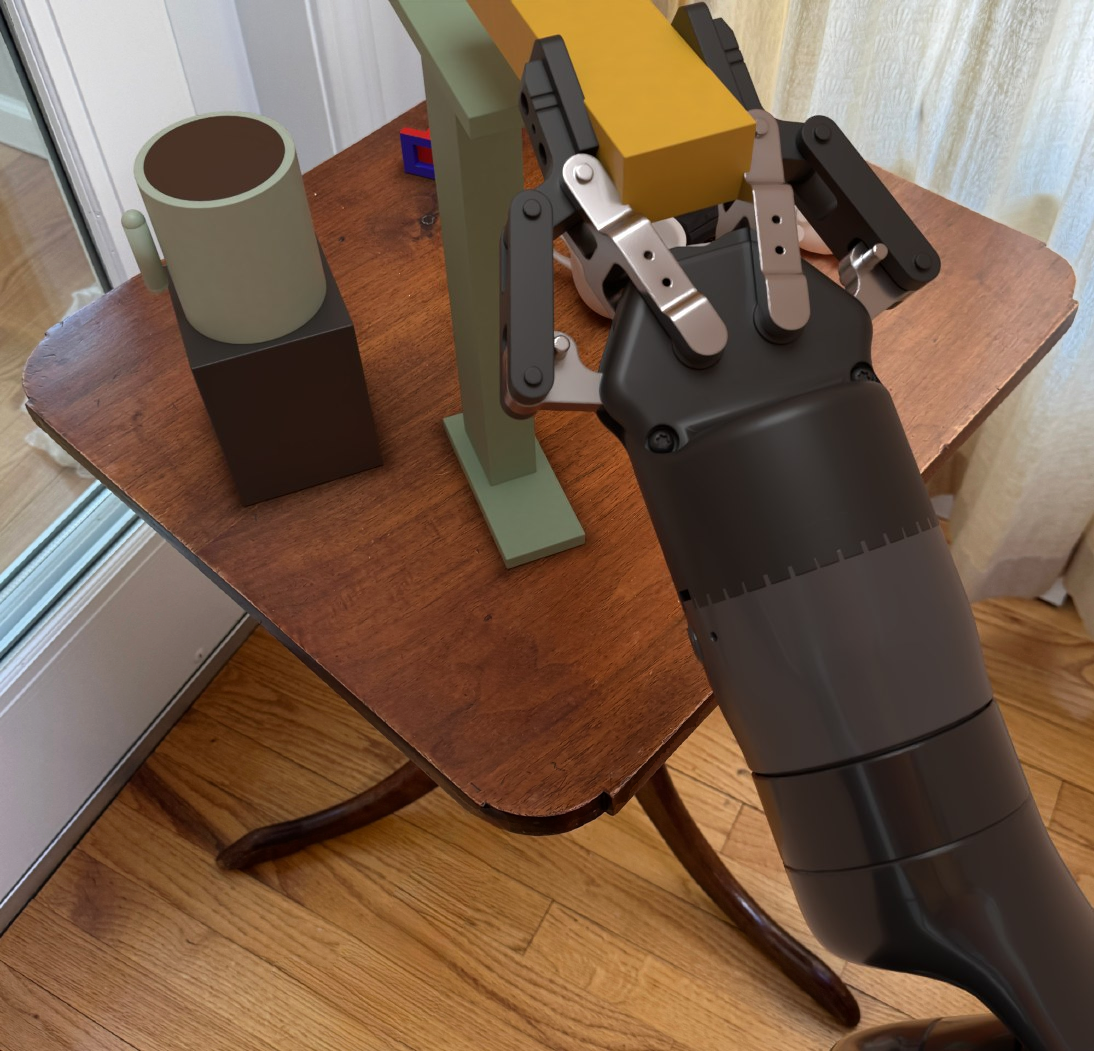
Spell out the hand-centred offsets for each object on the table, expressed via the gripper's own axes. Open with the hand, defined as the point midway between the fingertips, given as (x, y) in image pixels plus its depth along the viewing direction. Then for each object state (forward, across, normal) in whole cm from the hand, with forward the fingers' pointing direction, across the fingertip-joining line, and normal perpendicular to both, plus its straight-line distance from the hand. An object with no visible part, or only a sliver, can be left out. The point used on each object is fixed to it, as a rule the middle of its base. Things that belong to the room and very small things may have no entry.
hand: (613, 37), depth 34 cm
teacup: (+5, -12, +45) cm, 47 cm away
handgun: (+15, -24, +39) cm, 49 cm away
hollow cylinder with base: (+1, +12, +43) cm, 45 cm away
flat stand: (-6, 0, +38) cm, 39 cm away
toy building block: (+24, -4, +54) cm, 60 cm away
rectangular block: (+2, 0, +4) cm, 4 cm away
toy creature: (+4, -27, +41) cm, 50 cm away
